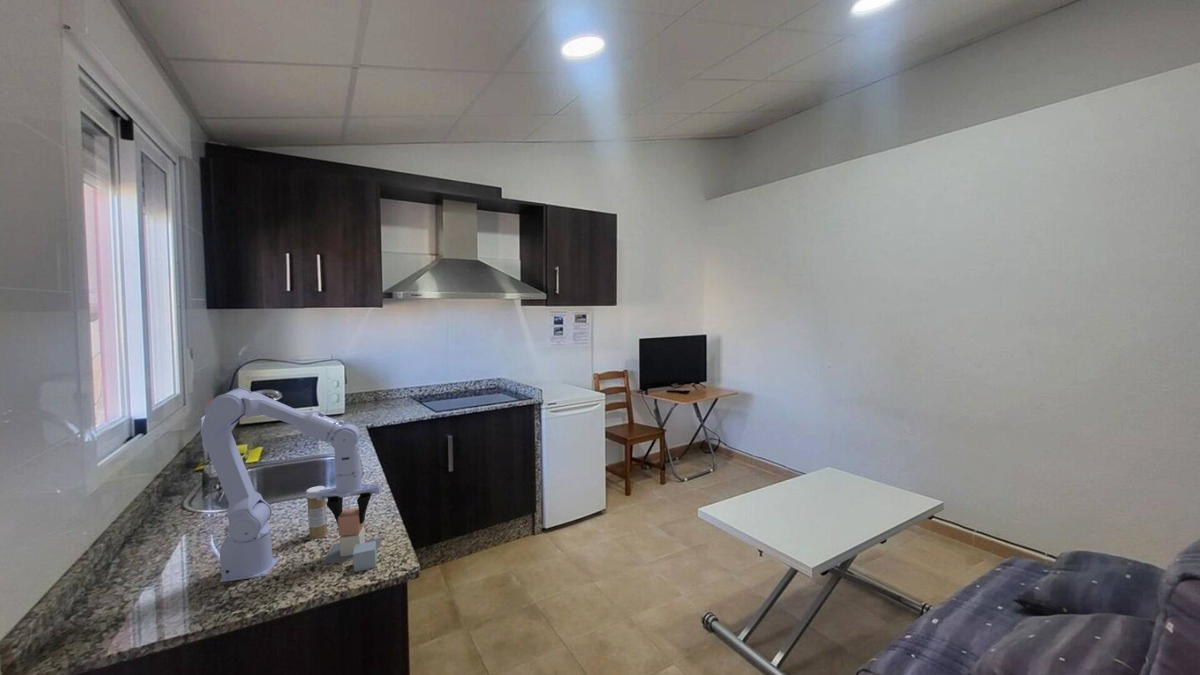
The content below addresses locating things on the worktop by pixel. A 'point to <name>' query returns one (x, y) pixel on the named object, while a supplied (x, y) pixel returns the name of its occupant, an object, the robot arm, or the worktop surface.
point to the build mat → (335, 556)
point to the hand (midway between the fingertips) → (351, 523)
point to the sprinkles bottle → (316, 513)
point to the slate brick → (364, 556)
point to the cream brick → (350, 542)
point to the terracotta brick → (349, 522)
